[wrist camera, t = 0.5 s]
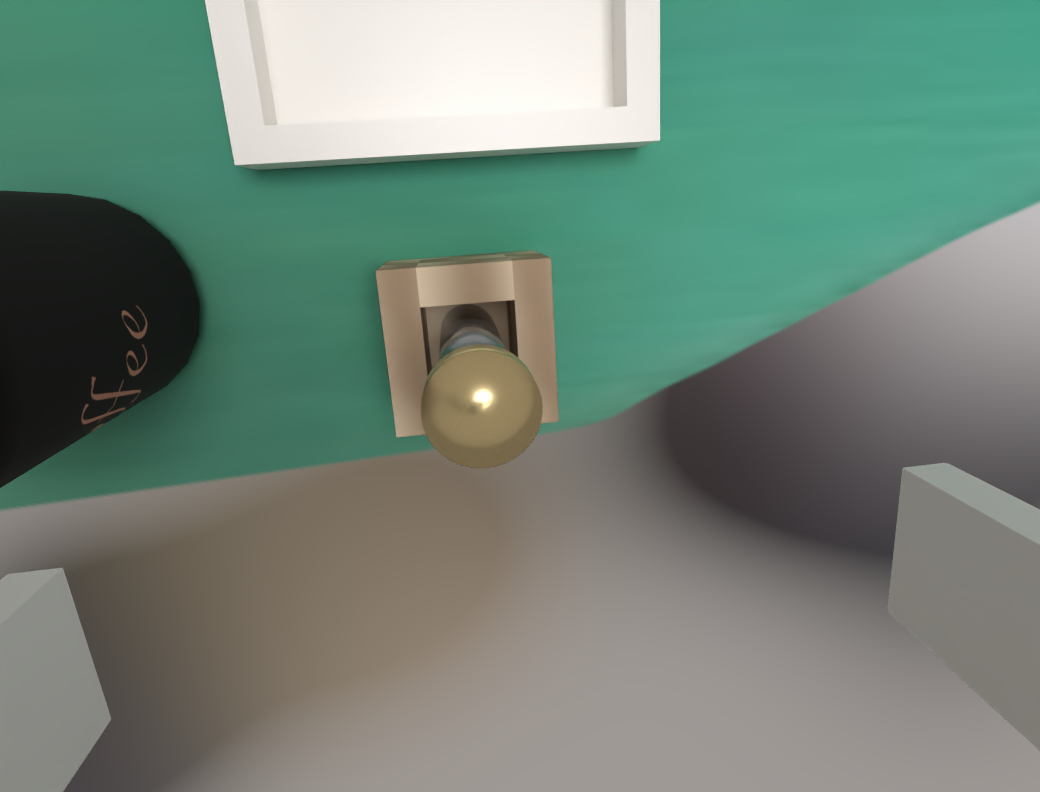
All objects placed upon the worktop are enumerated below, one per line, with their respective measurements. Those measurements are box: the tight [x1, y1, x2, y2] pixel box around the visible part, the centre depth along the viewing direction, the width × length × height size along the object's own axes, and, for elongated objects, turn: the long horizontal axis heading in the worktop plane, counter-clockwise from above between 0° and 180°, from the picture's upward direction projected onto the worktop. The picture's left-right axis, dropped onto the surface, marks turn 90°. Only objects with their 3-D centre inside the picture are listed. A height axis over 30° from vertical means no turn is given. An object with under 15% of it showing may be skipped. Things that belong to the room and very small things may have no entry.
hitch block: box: [376, 250, 559, 437], centre depth 33 cm, size 8×8×6 cm
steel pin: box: [421, 304, 543, 468], centre depth 28 cm, size 4×4×15 cm
